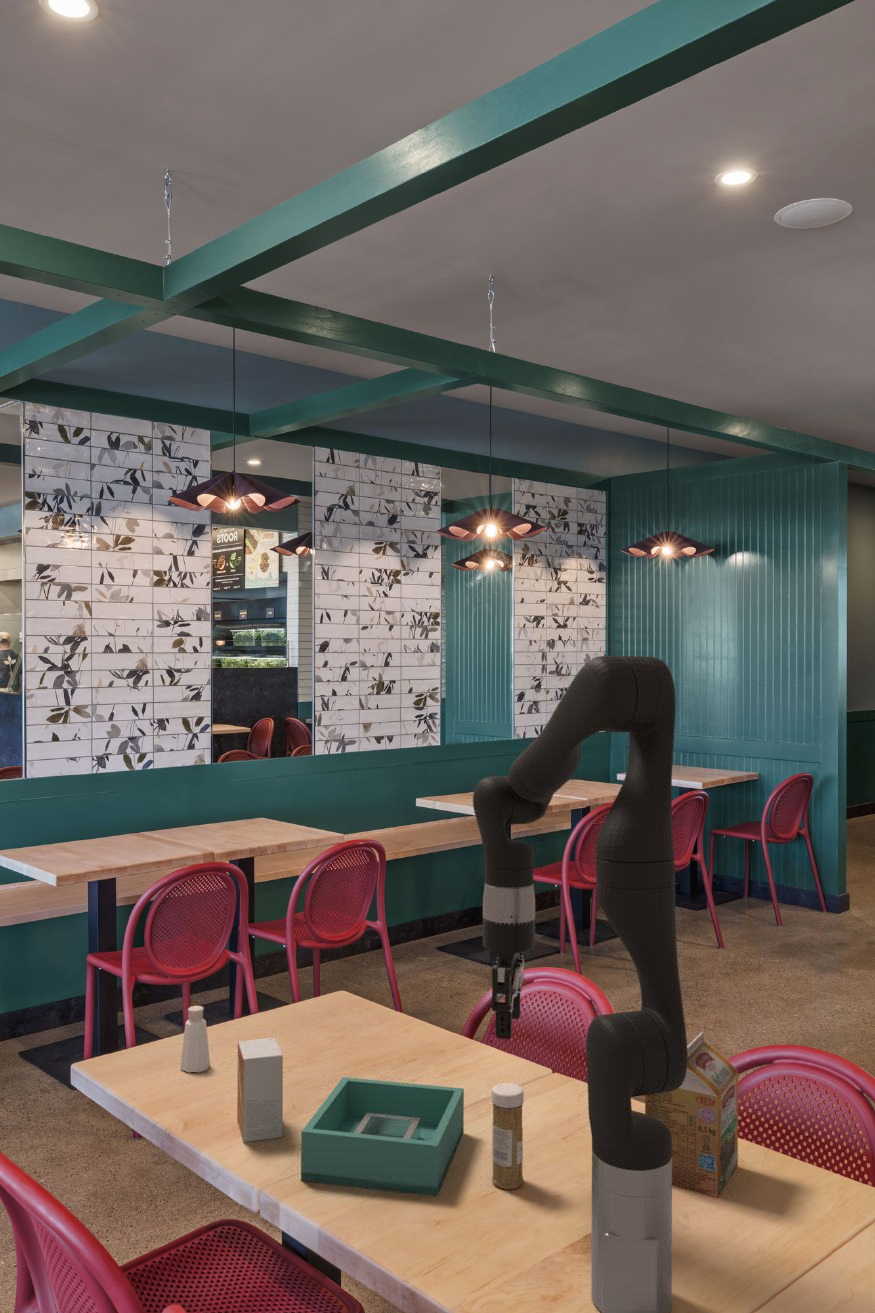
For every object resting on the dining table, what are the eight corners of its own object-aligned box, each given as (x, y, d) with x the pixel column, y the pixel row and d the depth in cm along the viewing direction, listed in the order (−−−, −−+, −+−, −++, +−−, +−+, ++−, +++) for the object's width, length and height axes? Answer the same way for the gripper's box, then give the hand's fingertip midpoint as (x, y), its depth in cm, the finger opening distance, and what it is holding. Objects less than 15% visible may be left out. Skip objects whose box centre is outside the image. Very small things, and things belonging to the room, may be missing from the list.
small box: (236, 1121, 165) (237, 1040, 165) (275, 1116, 167) (276, 1036, 167) (242, 1143, 157) (242, 1059, 158) (283, 1138, 159) (283, 1054, 160)
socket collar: (407, 1164, 149) (407, 1143, 149) (350, 1157, 150) (350, 1137, 151) (420, 1137, 157) (420, 1118, 157) (366, 1132, 159) (366, 1112, 159)
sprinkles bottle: (529, 1185, 145) (530, 1090, 145) (504, 1194, 143) (504, 1097, 143) (510, 1171, 149) (510, 1079, 149) (484, 1180, 147) (485, 1086, 147)
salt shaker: (177, 1064, 189) (178, 1005, 189) (206, 1060, 191) (207, 1001, 191) (183, 1075, 184) (183, 1014, 184) (213, 1070, 186) (213, 1010, 186)
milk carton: (717, 1198, 142) (717, 1061, 142) (644, 1178, 147) (645, 1046, 148) (737, 1167, 151) (738, 1038, 151) (668, 1149, 156) (669, 1025, 157)
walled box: (437, 1196, 142) (437, 1146, 142) (300, 1180, 146) (301, 1131, 146) (463, 1133, 161) (463, 1088, 162) (342, 1120, 166) (343, 1077, 166)
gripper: (528, 928, 139) (527, 1048, 138) (540, 905, 153) (540, 1013, 152) (474, 925, 140) (473, 1043, 140) (491, 902, 154) (490, 1009, 154)
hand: (508, 1027), depth 146 cm, fingers open, 8 cm apart
